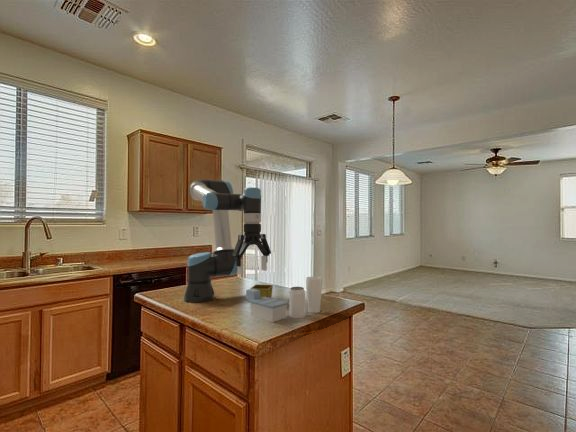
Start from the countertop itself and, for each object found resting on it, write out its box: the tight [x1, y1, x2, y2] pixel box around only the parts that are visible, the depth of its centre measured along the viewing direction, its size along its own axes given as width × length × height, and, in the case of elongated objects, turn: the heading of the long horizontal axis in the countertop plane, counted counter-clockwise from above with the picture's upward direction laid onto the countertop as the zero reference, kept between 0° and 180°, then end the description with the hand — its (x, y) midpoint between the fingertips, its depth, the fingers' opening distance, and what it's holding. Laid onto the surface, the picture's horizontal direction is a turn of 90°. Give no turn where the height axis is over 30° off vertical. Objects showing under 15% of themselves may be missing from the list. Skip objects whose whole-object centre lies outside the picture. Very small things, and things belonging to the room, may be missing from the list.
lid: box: [245, 289, 289, 309], centre depth 131 cm, size 19×9×6 cm, turn 47°
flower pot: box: [250, 283, 274, 298], centre depth 148 cm, size 9×9×9 cm
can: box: [288, 286, 306, 319], centre depth 130 cm, size 6×6×12 cm
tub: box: [250, 303, 287, 323], centre depth 129 cm, size 13×8×6 cm, turn 47°
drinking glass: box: [305, 276, 323, 314], centre depth 137 cm, size 7×7×15 cm
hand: (252, 272), depth 136 cm, fingers open, 13 cm apart
